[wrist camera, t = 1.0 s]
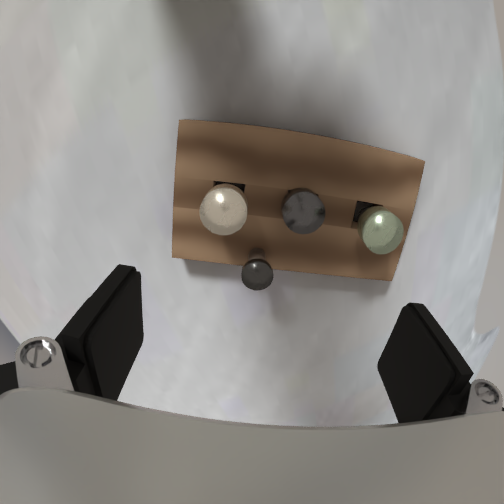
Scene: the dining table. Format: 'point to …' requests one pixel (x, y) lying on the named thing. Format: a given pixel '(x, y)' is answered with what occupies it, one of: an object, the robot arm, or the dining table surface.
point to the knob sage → (379, 229)
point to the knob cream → (224, 209)
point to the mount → (276, 187)
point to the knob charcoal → (302, 211)
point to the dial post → (257, 270)
